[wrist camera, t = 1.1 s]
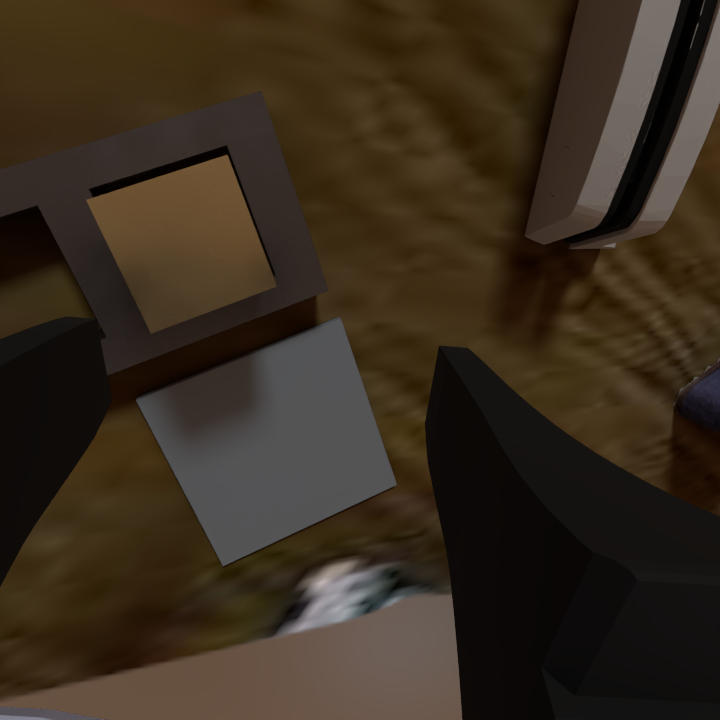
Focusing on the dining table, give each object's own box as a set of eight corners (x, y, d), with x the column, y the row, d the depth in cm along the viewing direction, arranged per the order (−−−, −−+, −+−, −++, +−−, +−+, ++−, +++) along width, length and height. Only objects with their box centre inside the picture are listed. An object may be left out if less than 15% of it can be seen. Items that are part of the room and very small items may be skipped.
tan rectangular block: (163, 291, 23) (151, 333, 16) (121, 200, 22) (85, 200, 14) (250, 260, 24) (277, 286, 16) (214, 169, 22) (227, 154, 15)
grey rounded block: (599, 254, 29) (707, 266, 19) (515, 241, 29) (581, 245, 19) (693, -96, 25) (888, -302, 15) (595, -113, 25) (730, -329, 15)
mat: (222, 561, 27) (223, 566, 27) (136, 397, 24) (135, 400, 23) (394, 481, 29) (396, 484, 29) (338, 317, 26) (340, 318, 25)
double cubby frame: (-39, 416, 22) (-65, 441, 20) (-165, 229, 19) (-213, 233, 17) (315, 282, 25) (328, 290, 23) (253, 102, 22) (261, 90, 20)
